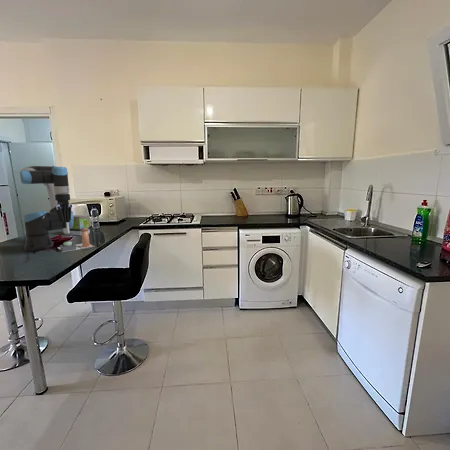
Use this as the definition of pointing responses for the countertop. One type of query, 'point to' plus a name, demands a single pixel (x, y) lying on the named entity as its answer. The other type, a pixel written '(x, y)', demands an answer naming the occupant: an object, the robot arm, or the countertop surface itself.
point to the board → (79, 247)
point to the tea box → (79, 224)
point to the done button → (67, 244)
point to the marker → (85, 237)
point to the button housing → (68, 247)
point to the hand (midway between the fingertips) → (66, 233)
